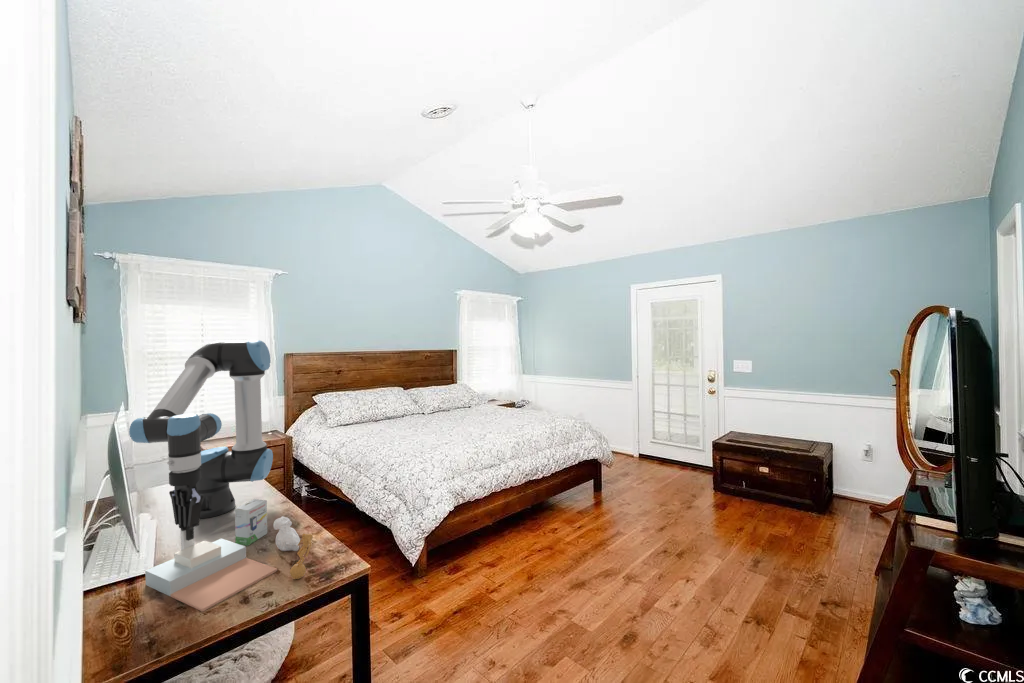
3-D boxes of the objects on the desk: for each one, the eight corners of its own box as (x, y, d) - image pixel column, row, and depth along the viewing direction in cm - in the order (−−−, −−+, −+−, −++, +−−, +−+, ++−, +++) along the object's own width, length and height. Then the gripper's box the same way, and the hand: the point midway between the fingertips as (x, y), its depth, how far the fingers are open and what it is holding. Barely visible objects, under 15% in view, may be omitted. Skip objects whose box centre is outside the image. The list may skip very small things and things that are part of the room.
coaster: (204, 548, 131) (204, 540, 131) (221, 554, 128) (221, 546, 128) (174, 561, 124) (174, 553, 124) (190, 568, 121) (190, 559, 121)
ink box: (255, 532, 150) (254, 498, 150) (268, 533, 149) (267, 499, 149) (234, 544, 142) (233, 508, 141) (248, 546, 141) (247, 509, 140)
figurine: (286, 574, 125) (285, 532, 124) (308, 566, 128) (308, 526, 128) (294, 587, 118) (293, 543, 118) (317, 579, 122) (316, 536, 122)
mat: (246, 559, 133) (246, 557, 133) (277, 570, 126) (277, 568, 126) (170, 596, 115) (170, 594, 115) (202, 611, 108) (202, 609, 108)
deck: (221, 551, 138) (221, 538, 138) (246, 559, 133) (245, 546, 132) (145, 584, 120) (145, 570, 120) (170, 596, 115) (170, 581, 115)
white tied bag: (282, 547, 144) (258, 527, 139) (302, 528, 148) (278, 507, 143) (291, 563, 135) (265, 541, 130) (312, 541, 138) (287, 520, 134)
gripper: (157, 469, 127) (160, 550, 127) (183, 476, 121) (186, 561, 122) (186, 462, 133) (189, 539, 134) (212, 468, 128) (214, 549, 128)
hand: (187, 549), depth 128 cm, fingers closed
